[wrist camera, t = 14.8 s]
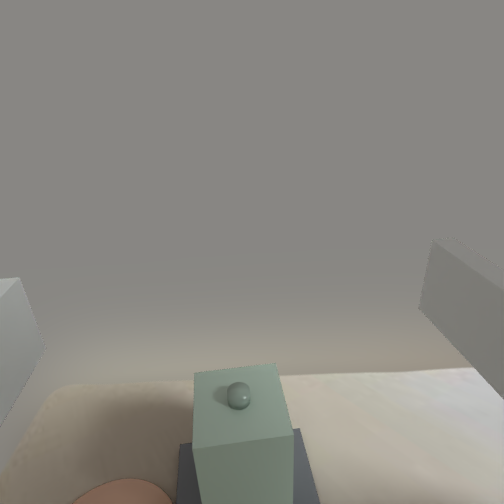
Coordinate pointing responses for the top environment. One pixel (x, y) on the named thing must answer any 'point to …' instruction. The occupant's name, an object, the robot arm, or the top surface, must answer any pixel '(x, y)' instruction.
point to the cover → (242, 437)
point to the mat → (302, 476)
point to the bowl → (125, 493)
